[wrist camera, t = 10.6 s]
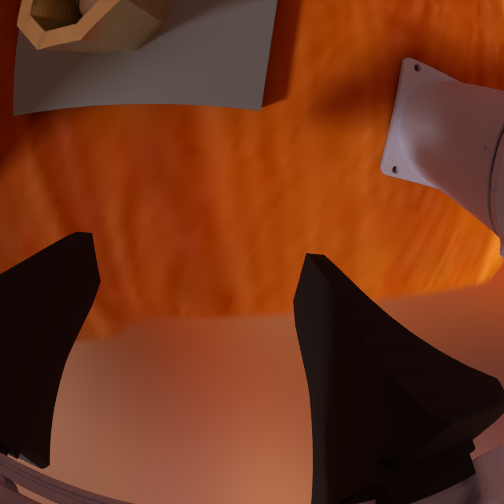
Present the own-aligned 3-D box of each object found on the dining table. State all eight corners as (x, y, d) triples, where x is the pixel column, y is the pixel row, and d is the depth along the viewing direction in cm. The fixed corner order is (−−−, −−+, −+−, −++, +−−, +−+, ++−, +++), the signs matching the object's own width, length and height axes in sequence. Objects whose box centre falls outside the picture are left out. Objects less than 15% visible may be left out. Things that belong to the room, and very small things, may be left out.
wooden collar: (175, -29, 9) (143, -76, 4) (161, 49, 12) (116, 34, 7) (92, -18, 9) (34, -43, 4) (79, 57, 11) (12, 57, 6)
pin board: (284, -51, 10) (299, -94, 5) (259, 108, 15) (266, 119, 11) (44, -27, 8) (-3, -40, 3) (26, 112, 14) (-28, 131, 9)
